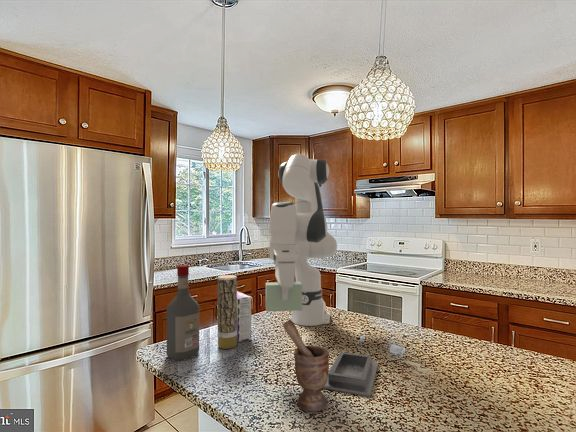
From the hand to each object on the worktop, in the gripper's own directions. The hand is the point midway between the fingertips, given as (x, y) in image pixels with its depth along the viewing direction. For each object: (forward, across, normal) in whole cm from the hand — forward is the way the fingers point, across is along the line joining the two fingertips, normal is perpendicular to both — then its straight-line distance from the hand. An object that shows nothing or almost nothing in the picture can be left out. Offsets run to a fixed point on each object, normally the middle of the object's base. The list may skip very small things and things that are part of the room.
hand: (283, 297), depth 106 cm
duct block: (+4, 0, 0) cm, 4 cm away
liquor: (+21, -13, -33) cm, 41 cm away
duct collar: (+21, +10, +19) cm, 30 cm away
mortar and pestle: (+22, +22, +3) cm, 31 cm away
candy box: (+21, -29, -15) cm, 39 cm away
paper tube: (+21, -19, -18) cm, 34 cm away
